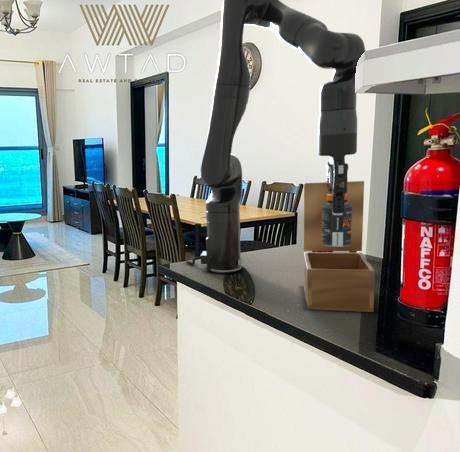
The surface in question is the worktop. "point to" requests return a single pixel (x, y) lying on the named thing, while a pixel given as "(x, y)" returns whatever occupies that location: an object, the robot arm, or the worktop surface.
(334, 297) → the chest
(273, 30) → the robot arm
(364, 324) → the worktop surface
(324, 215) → the pill bottle
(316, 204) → the lid
